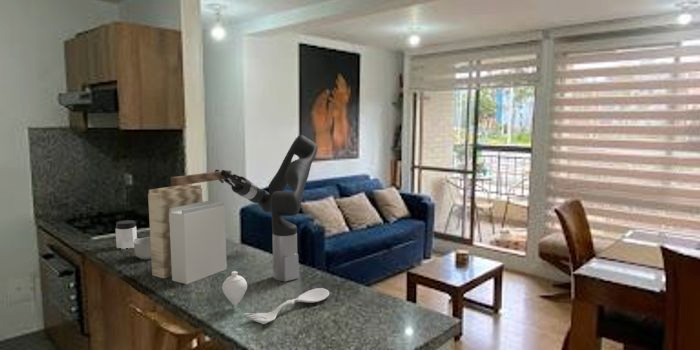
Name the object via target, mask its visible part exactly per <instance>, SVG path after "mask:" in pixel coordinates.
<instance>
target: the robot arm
mask: <svg viewBox="0 0 700 350" xmlns="http://www.w3.org/2000/svg"><path fill="white" fill-rule="evenodd" d="M318 149H319V147H318V145H317V143H316V142H315V141H312V140H311V139H310V138H308V137H307V136H305V135H303V134H299V135H298V136H297V137H295V139H294V140H293V142H292V144H291V145H290V147H289V149H288V151H287V153H286V155H285V156H284V159H283V160H282V162H281V165H280V166H279V168H278V170H277V172H276V173H275V175H274V176H273V178H272V179H271V181H270V182H269V183H268V191H267V190H265V189H262V188H260V187H258V186H257V185H255V184H254V183H253V182H252V181H250V180H249V179H248V178H246V177H244V176H240V175H238V174H235V173H232V172H231V173H228V172H226V171H225V169H222V170H219V169H215V170H214V172H217V171H221V175H222V176H224V177H225V178H227V179H220V180H218V181H219V182H220V183H221V184H224V183H225V184H227V185H228V186H230V187H231V190H232V192H234V193H235V194H237V195H239V196H240V197H242V198H244V199H245V200H248V201H250V202H252V203H253V204H258V205H259V207H260V208H261V209H262V210H263V211H264V212H265V213H271V215H270V216H271V229H272V232H271V233H272V273H273V274H272V277H273V279H274V280H276V281H278V282H281V281H282V282H284V283H285V282H290V281H293V280H297V279H300V278H299V273H300V272H299V271H300V268H299V253H298V226H297V225H296V224H294V223H292V222H290V221H288V220H287V219H285V218H284V216H286V217H292V216H293V217H294V216H297V215H298V214H299V212H300V210H301V207H302V206H301V205H302V202H303V196H304V191H305V187H306V184H307V181H308V179H309V175H310V171H311V167H312V163H313V161H314V159H315V156H316V154H317V152H318ZM294 156H297V157H298V159H294V160H293V157H294ZM287 186H288V187H289V188H290V189H291V191H290V190H288V191H287V190H285V189H286V188H287Z"/></svg>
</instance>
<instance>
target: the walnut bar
mask: <svg viewBox="0 0 700 350" xmlns="http://www.w3.org/2000/svg"><path fill="white" fill-rule="evenodd" d="M224 170H225V169H224ZM221 171H222V170H219V171H217V172H215V171H210V172H209V171H208V172H203V173H195V174H187V175H179V176H170V187H172V186H180V185H187V184H192V185H195V184H199V183H200V184H201V183H206V182H212V181H219V180H220V179H227V178H225V177H224V176H222V175H221ZM225 171H226V172H228V173H231V174H232V170H227V169H226V170H225Z"/></svg>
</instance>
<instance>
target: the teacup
mask: <svg viewBox="0 0 700 350" xmlns="http://www.w3.org/2000/svg"><path fill="white" fill-rule="evenodd" d="M133 244H134V248H133V251H134V255H135V257H137V259H138V258H139V259H141V260H143V259H144V260H151V241H150V236H147V237H142V238H141V237H140V238H138V237H137V239H135V240H134V242H133Z"/></svg>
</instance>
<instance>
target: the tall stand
mask: <svg viewBox="0 0 700 350" xmlns="http://www.w3.org/2000/svg"><path fill="white" fill-rule="evenodd" d="M147 197H148V198H147V199H148V214H149V215H148V218H149V237H150V241H151V259H150V260H151V275H152V276H154V277H158V278H161V279H166V278H170V277H172V266H171V244H170V223H169V208H174V207H179V206H184V205H189V204H194V203H199V202H204V201H203V188H202V185H201V184H187V185H180V186H167V187H159V188H153V189H152V188H151V189H148V195H147Z"/></svg>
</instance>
